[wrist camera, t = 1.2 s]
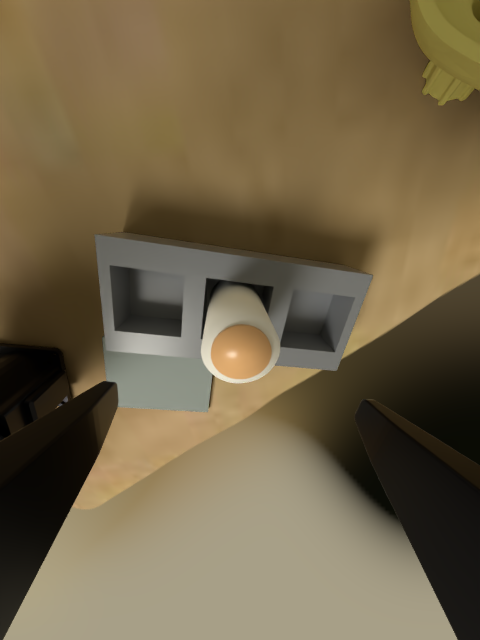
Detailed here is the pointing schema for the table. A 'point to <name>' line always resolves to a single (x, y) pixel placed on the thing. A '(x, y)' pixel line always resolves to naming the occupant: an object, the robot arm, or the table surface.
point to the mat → (158, 381)
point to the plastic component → (448, 46)
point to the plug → (238, 334)
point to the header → (195, 288)
